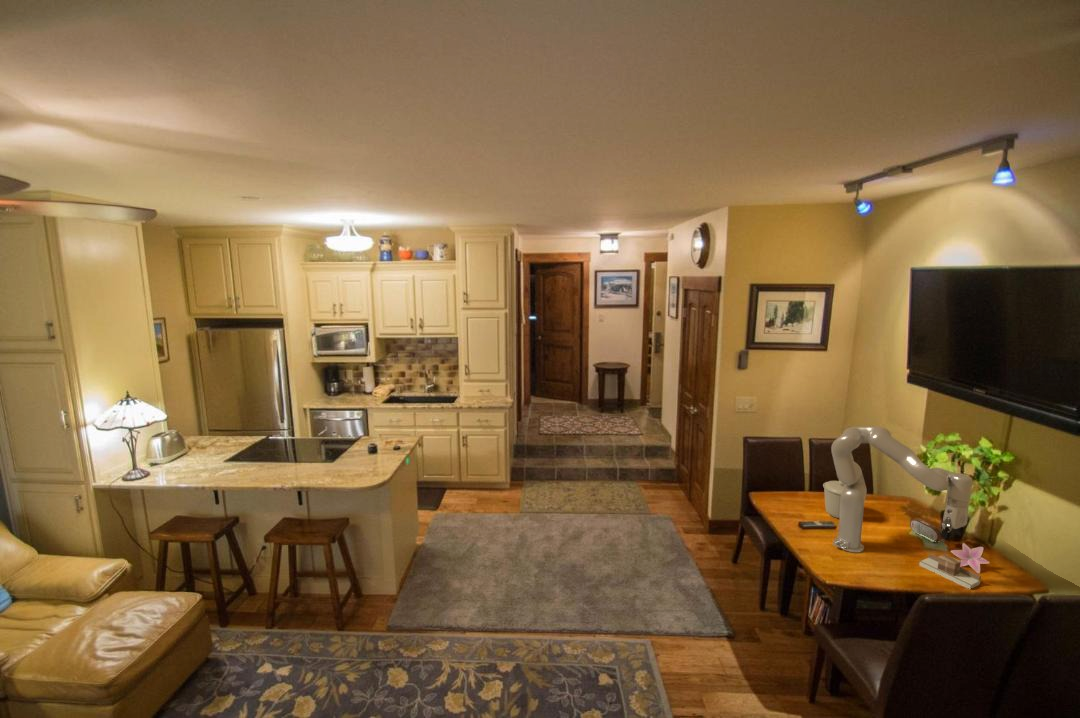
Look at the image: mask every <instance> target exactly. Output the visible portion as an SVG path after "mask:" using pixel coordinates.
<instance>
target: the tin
mask: <svg viewBox="0 0 1080 718" xmlns="http://www.w3.org/2000/svg"><path fill="white" fill-rule="evenodd" d="M909 526H910V529H911V530H912V532H913V533H914V532H915V534H916V533H919V534H922V535H924V536H926V537H928V538H930V539H932V540H934V541H936V542H935V543H939V542H938V541H940V542H942V541H943V538H941V533H942V530H941V529H939V528H938V527H937V526H936V525H934V524H932V523H930V522H928V521H926V520H924V519H921V518H919V517H918V518H917V517H916V518H913V519H910V521H909Z"/></svg>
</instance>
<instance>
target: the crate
mask: <svg viewBox="0 0 1080 718" xmlns="http://www.w3.org/2000/svg"><path fill="white" fill-rule="evenodd" d="M938 557H939V562H938V569H940V570H942V571H944V572H946V573H948V574H950V575H952V576H955V575H957V574H959V572H960V564H961V559H960V560H959V558H958V559H957V558H955V557H953V556H950V555H948V554H946V553H943V554H941V555H938Z"/></svg>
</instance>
